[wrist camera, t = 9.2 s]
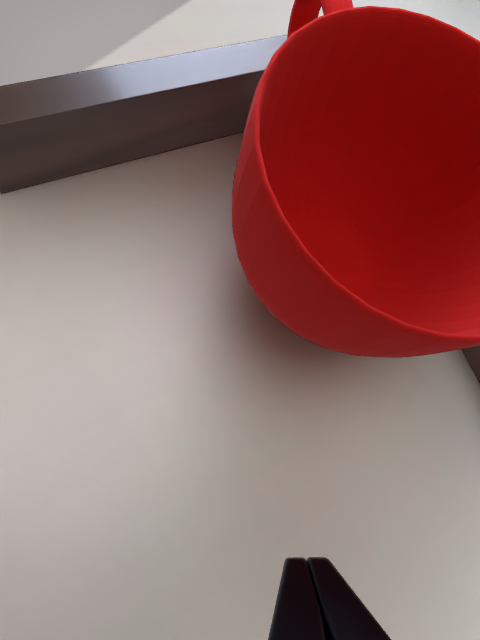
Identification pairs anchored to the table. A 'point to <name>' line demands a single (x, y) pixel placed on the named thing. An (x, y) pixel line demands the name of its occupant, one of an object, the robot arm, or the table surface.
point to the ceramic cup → (365, 182)
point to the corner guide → (130, 114)
